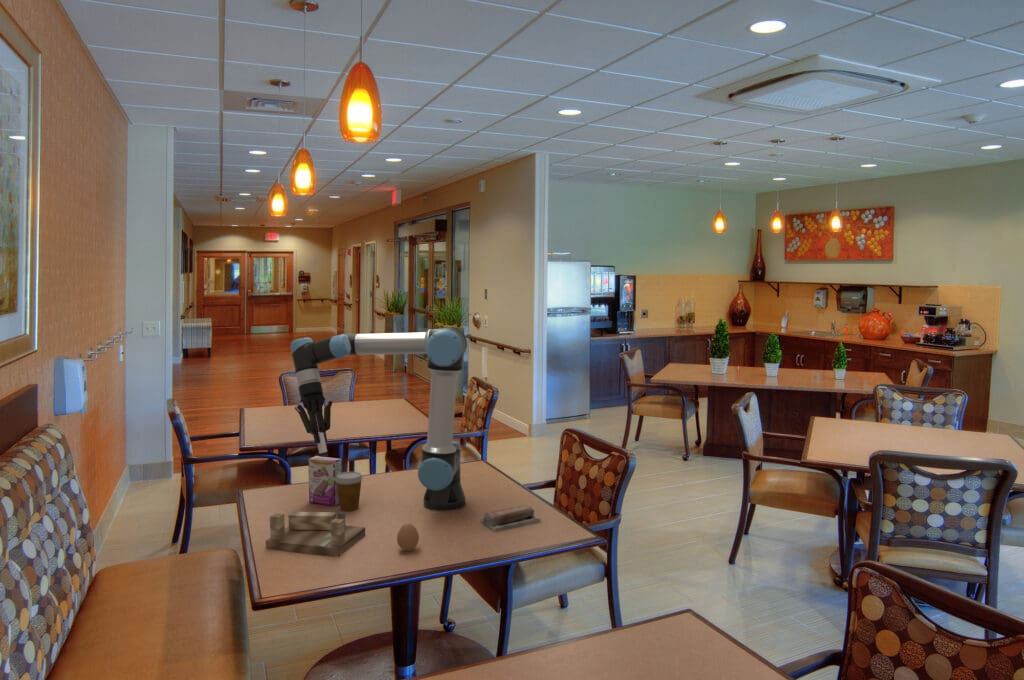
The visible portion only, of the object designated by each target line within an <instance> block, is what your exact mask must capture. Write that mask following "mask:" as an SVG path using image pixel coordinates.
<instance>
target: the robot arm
mask: <svg viewBox="0 0 1024 680" xmlns="http://www.w3.org/2000/svg"><path fill="white" fill-rule="evenodd" d="M467 348H468V339H467V336H466V334H465V333H464V332H463V331H462V330H461V329H459V328H458V327H455V326H447V327H442V328H441V327H440V328H429V329H428V330H427V331H426V332H425V331H422V332H419V331H418V332H416V331H415V332H383V333H379V332H378V333H377V332H376V333H373V332H371V333H348V332H345V333H340V334H337V335H334V336H330V337H326V338H324V339H321V340H318V341H313V339H312V338H311V337H302V338H298V339H295V340H293V341H292V342H291V343H290V349H291V357H292V361H293V367H294V372H295V376H296V377H295V378H296V382H297V385H298V393H299V396H300V397H299V398H300V401H299V402H300V403H299V404H298V405H296V406H295V407H294V409H295V411H296V412H297V414H298V415H299V417H300V419H301V422H302V424H303V427H304V428H305V431H306V433H307V434H311V435H312V436H313V441H314V444H315V445H317V449H318V454H324V453H325V454H326V453H328V449H327V444H326V442H328V438H327V431H329V430H330V429H331V413H332V412H331V410H332V409H331V408H332V405H333V401H332V400H327V399H326V397H325V396H324V390H323V385H322V382H320V381H321V376H320V375H321V374H320V371H319V367H318V366H319V365H318V364H322V363H326V362H329V361H334V360H337V359H342V358H345V357H347V356H359V355H361V356H362V355H363V356H364V355H365V356H366V355H367V356H368V355H369V356H371V355H420V354H421V355H422V354H425V355H427V366H426V367H427V369H428V370H429V372H430V373H431V376H430V393H429V408H428V419H427V420H428V421H427V423H428V424H427V434H426V435H427V438H426V443H424V444H423V446H422V447H421V455H420V456H421V457H420V458H421V459H420V464H419V466H418V468H417V475H418V476H417V477H418V480H419V482H420V483H421V485H422V486H423V487H424V488H426V489H425V493H424V494H423V499H422V501H423V503H422V504H423V507H425V508H426V509H429V510H434V511H452V510H453V511H454V510H458V509H460V508H463V507H464V506H465V505H466V495H465V493H464V489H463V487H462V483H461V477H462V476H461V474H462V473H461V471H462V470H461V452H462V448H461V443H460V442H459V441H456V440H453V438H454V437H453V436H454V424H455V423H454V422H455V412H456V410H455V409H456V397H457V383H458V382H457V381H458V374H460V373H461V372H462V371H463V363H464V354H465V353H466V351H467ZM323 407H324V408H323Z"/></svg>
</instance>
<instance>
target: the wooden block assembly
mask: <svg viewBox="0 0 1024 680" xmlns="http://www.w3.org/2000/svg"><path fill="white" fill-rule="evenodd" d="M330 525H331V530H297V529H289V525H288V526H287V527H286V526H285V513H280V512H278V513H277V512H275V513H273V514H272V515H270V516H269V529H270V531H269V533H270V534H269V535H270V537H269V538H268V539H266V540H265V549H267V550H275V551H276V550H277V551H282V550H284V552H291V551H292V552H293V553H302V554H309V555H317V556H326V555H328V556H327V557H334V556H338V557H340V556H341V555H342V554H343V553H345V552H346V551H347V550H349V549H350V548H351V547H352V546H353V545H354V544H356V543H357V542H358V541H360V540H361V539H362V538H364V537H365V536H366V527H365V526H354V525H346V511H338V512H336V519H334V520H333V521H331V522H330ZM349 547H350V548H349ZM345 550H346V551H345ZM344 551H345V552H344ZM292 552H291V553H292ZM341 553H342V554H341ZM340 554H341V555H340ZM339 555H340V556H339Z"/></svg>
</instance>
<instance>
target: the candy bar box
mask: <svg viewBox="0 0 1024 680" xmlns="http://www.w3.org/2000/svg"><path fill="white" fill-rule="evenodd" d="M307 462H308V497H309V498H308V501H309V502H308V503H312V504H319V505H326V506H332V507H336V506H338V505H340V503H339V496H338V489H337V483H336V481H335V478H336V476H337V474H339V473H343V472H342V459H341V458H338V457H337V458H336V457H330V456H329V457H327V456H319V455H314V456H312V457H310V458H308V461H307ZM337 504H338V505H337ZM335 505H336V506H335Z"/></svg>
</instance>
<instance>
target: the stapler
mask: <svg viewBox="0 0 1024 680" xmlns="http://www.w3.org/2000/svg"><path fill="white" fill-rule="evenodd" d="M479 521H480V524H482V525H484V526H485V527H487V528H488V529H489V530H492V531H493V532H499V531H503V530H508V529H513V528H518V527H523V526H527V525H533V524H536V523H537V524H538V523H540V522H541V518H540V517H539V516H536V515H535V509H534V508H532V507H531V506H529V505H520V506H515V507H508V508H502V509H496V510H492V511H486V512H485V513H484V516H483V518H482V519H480V520H479Z"/></svg>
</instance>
